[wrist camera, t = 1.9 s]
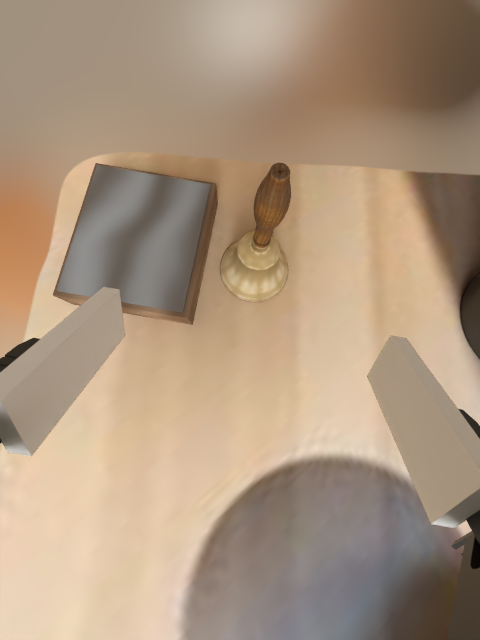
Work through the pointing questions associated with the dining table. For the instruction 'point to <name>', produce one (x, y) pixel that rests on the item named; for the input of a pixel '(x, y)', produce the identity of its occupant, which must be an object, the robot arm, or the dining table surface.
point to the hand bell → (260, 244)
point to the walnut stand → (141, 242)
